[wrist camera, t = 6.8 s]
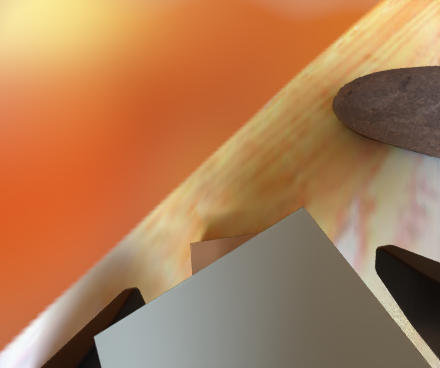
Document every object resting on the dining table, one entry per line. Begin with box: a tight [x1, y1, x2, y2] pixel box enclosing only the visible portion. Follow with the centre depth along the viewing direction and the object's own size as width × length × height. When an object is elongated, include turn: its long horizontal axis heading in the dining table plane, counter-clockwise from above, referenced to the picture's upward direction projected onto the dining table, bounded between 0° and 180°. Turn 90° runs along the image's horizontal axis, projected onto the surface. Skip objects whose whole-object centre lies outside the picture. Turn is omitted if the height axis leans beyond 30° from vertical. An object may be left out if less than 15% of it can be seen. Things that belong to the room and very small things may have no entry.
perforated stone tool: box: [332, 66, 440, 158], centre depth 16 cm, size 15×5×7 cm, turn 65°
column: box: [94, 207, 432, 368], centre depth 8 cm, size 4×4×12 cm
